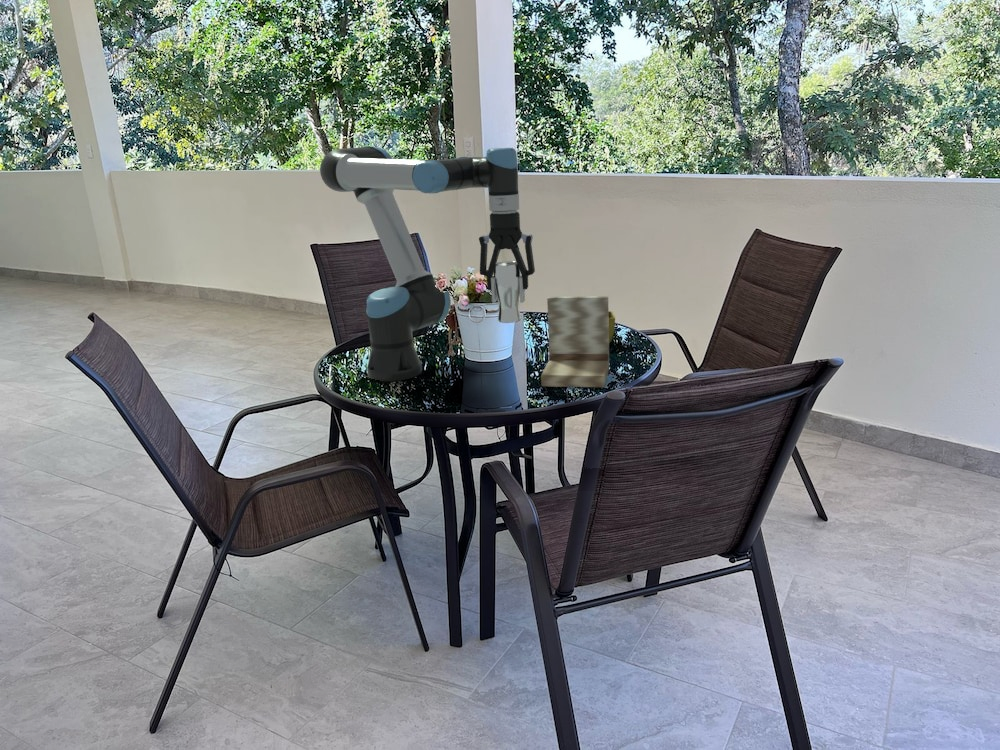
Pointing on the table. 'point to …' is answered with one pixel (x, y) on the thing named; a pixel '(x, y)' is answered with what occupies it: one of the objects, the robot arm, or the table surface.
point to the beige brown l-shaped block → (577, 342)
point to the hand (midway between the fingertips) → (508, 301)
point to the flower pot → (611, 325)
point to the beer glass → (507, 291)
